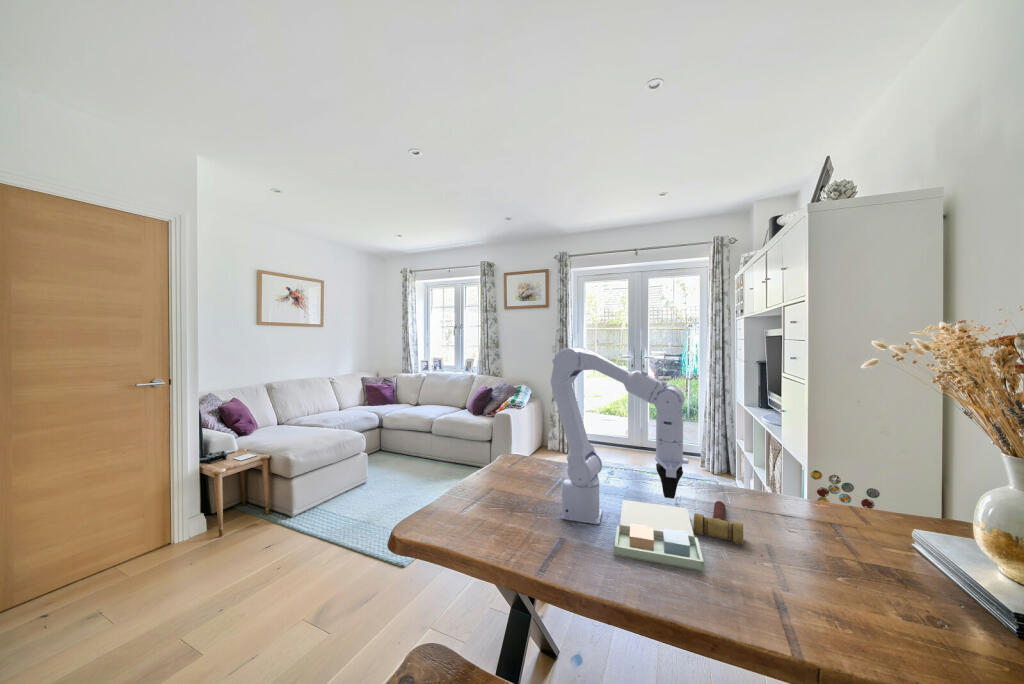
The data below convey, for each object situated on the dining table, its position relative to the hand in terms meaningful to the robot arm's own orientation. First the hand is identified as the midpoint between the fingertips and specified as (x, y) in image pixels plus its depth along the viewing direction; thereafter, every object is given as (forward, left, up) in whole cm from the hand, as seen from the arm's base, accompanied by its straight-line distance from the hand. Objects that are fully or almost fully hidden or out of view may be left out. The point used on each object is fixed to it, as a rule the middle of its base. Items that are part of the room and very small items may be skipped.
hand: (669, 497), depth 86 cm
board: (-3, +5, -10) cm, 11 cm away
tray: (-3, -7, -10) cm, 12 cm away
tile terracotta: (-6, -5, -9) cm, 12 cm away
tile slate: (+1, -5, -9) cm, 10 cm away
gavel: (+12, +12, -10) cm, 20 cm away
